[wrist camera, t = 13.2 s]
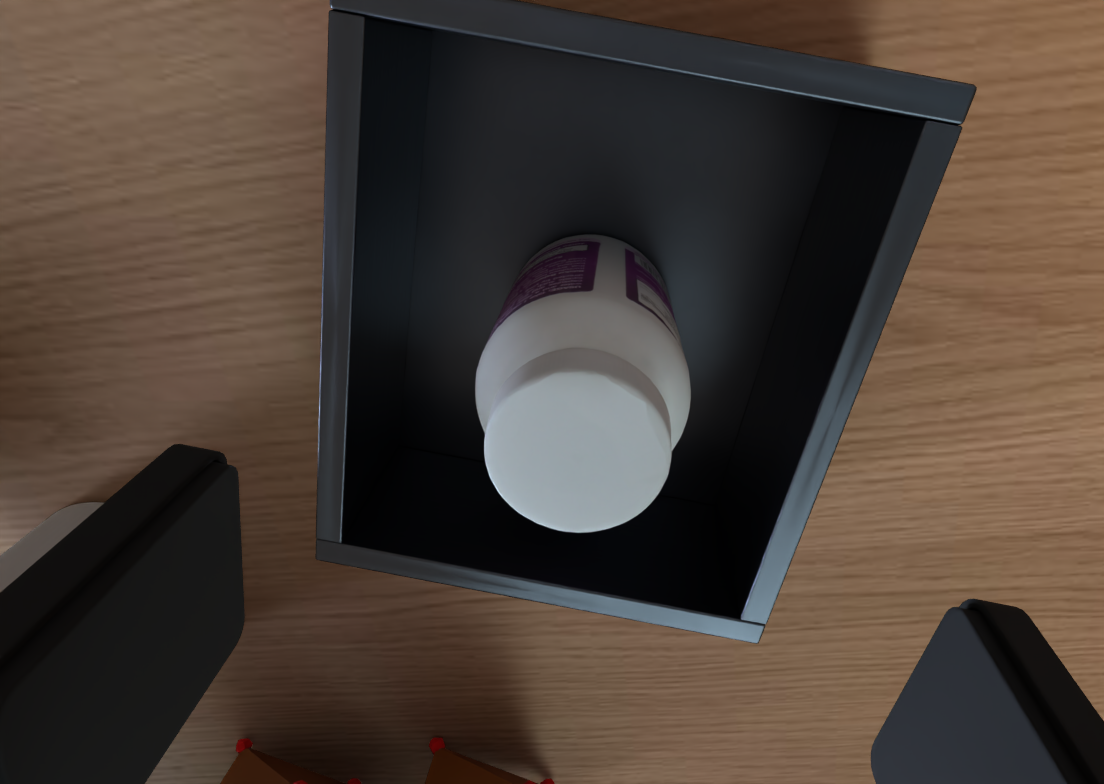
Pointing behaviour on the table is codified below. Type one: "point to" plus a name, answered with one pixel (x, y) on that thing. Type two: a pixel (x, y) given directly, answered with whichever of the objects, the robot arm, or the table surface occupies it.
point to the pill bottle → (583, 386)
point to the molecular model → (270, 780)
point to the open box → (632, 217)
